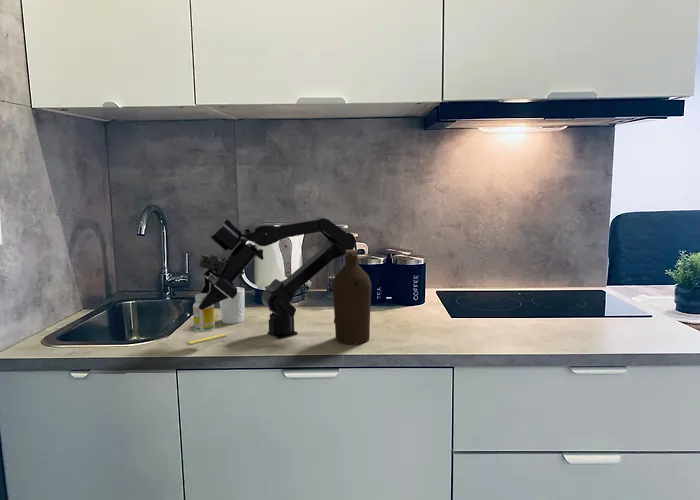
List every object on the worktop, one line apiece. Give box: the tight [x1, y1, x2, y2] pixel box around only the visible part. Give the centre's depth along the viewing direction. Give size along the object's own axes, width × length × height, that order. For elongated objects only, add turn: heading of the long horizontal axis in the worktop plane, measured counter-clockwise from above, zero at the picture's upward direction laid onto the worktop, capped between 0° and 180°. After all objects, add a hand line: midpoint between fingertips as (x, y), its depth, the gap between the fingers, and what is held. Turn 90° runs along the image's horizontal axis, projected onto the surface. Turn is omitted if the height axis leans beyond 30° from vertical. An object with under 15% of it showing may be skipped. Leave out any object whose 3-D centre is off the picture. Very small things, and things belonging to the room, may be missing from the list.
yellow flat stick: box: [187, 333, 228, 346], centre depth 149 cm, size 11×2×1 cm, turn 130°
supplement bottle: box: [192, 293, 216, 333], centre depth 142 cm, size 5×5×10 cm
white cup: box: [219, 286, 245, 325], centre depth 166 cm, size 8×8×10 cm
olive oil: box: [332, 249, 372, 346], centre depth 145 cm, size 11×11×25 cm
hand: (197, 306), depth 141 cm, fingers closed on supplement bottle, 5 cm apart
